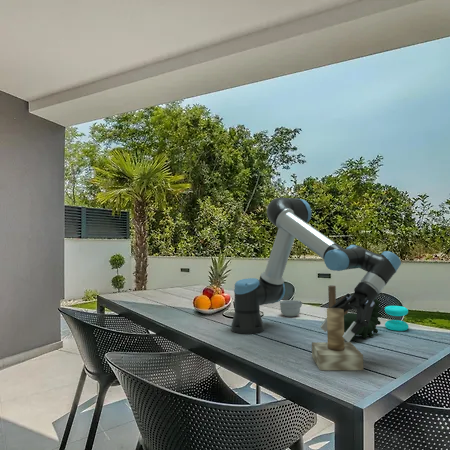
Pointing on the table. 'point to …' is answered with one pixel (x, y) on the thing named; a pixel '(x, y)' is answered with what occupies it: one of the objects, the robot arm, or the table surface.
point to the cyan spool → (396, 324)
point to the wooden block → (333, 296)
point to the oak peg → (335, 329)
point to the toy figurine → (364, 331)
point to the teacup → (290, 307)
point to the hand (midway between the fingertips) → (333, 334)
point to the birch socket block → (337, 357)
